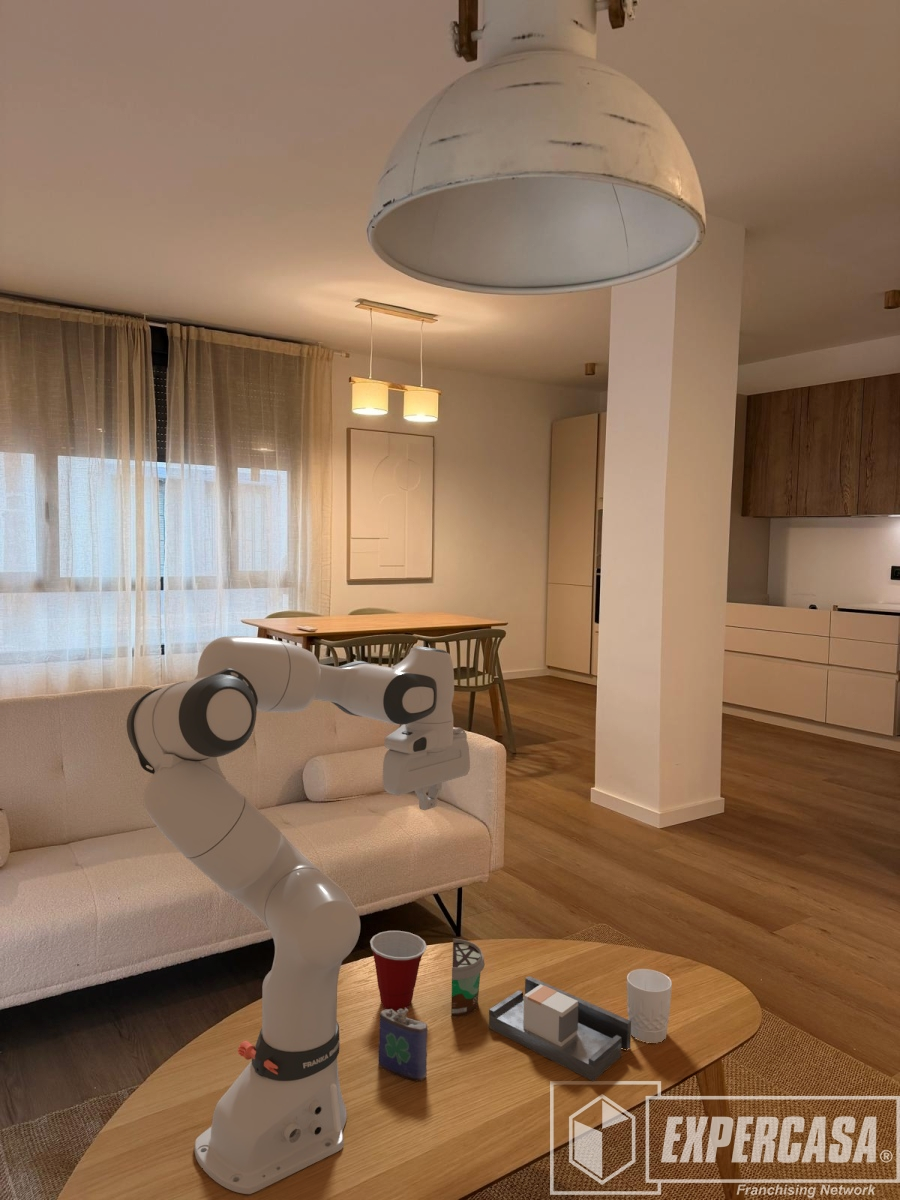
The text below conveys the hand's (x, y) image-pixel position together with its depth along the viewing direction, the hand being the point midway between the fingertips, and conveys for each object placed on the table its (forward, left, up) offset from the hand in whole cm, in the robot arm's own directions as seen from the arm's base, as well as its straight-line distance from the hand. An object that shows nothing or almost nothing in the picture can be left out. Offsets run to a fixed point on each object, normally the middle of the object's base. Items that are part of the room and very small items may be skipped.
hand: (427, 808), depth 151 cm
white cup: (+23, -34, -39) cm, 57 cm away
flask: (-15, -9, -39) cm, 43 cm away
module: (+8, -23, -37) cm, 44 cm away
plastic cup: (-1, +6, -39) cm, 40 cm away
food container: (+8, -4, -39) cm, 40 cm away
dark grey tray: (+11, -23, -39) cm, 47 cm away
